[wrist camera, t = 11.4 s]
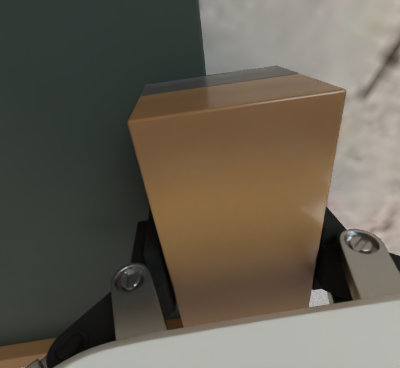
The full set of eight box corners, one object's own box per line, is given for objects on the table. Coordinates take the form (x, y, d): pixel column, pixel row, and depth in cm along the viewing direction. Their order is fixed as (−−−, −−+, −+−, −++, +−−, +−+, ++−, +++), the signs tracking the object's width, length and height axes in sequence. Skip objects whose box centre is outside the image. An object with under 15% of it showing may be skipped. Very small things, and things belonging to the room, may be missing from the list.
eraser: (144, 84, 9) (125, 121, 6) (277, 65, 10) (348, 88, 6) (189, 288, 16) (195, 371, 12) (269, 275, 16) (301, 355, 12)
